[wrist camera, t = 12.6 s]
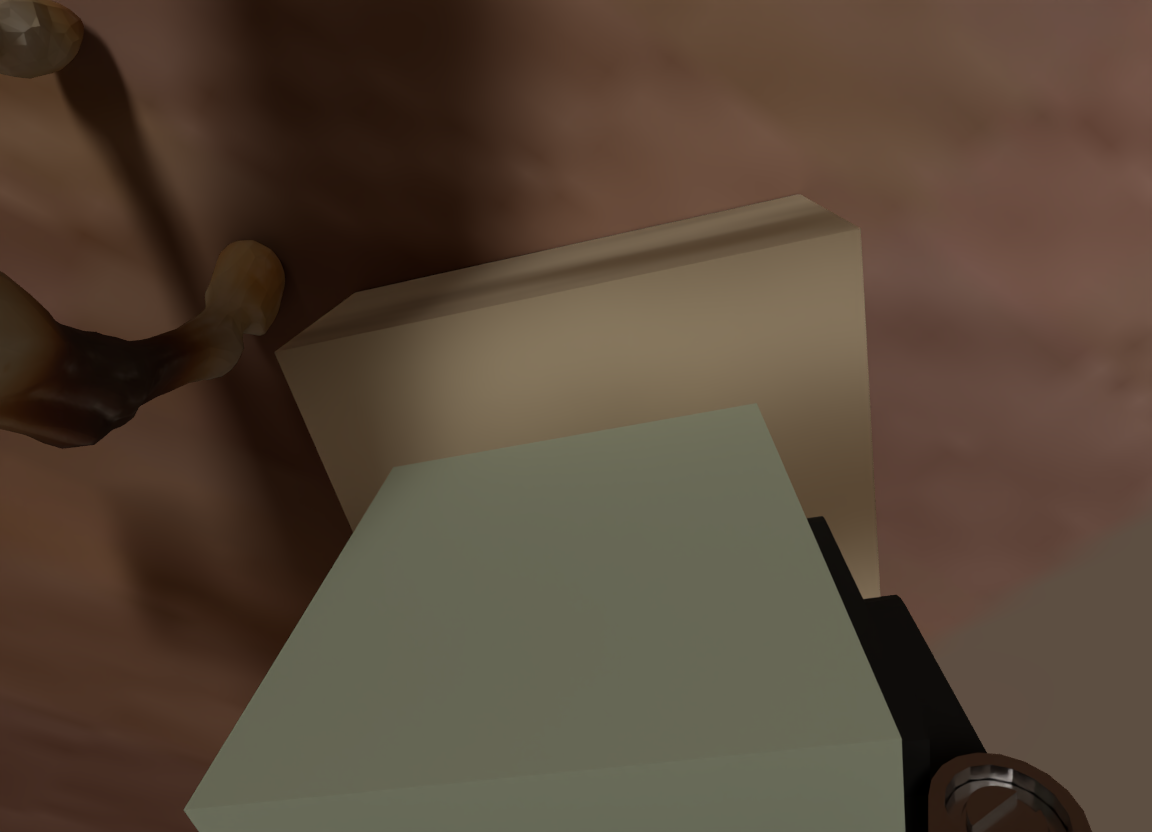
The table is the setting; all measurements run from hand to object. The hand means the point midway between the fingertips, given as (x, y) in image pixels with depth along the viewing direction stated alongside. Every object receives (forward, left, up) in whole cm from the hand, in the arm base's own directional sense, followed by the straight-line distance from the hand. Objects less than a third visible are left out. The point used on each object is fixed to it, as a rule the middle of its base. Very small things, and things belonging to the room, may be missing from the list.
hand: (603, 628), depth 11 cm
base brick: (0, 0, -6) cm, 6 cm away
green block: (0, 0, -1) cm, 1 cm away
